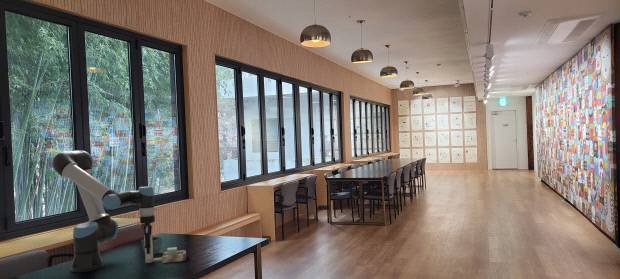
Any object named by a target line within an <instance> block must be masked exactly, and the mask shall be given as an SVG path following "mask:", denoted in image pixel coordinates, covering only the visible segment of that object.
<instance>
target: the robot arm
mask: <svg viewBox="0 0 620 279" xmlns="http://www.w3.org/2000/svg"><path fill="white" fill-rule="evenodd" d="M51 162H52V167H53V170H54V171H55V172H56V173H57V174H58V175H59V176H61V177H62V178H64V179H69V180H70V181H72V182H73V183H74V184H76V186H77V190H78V192H79V194H80V198H81V200H82V203H83V206H84V207H85V210H86V214H87V216H88V221H87V222H81V223H78V224H77V225H75V226H74V227H73V233H72V237H73V238H72V239H73V253H74V254H73V259H72V262H71V265H70V271H71V272H72V273H87V272H88V273H89V272H92V271H97V270H99V269H102V268H103V267H104V262H103V261H104V260H103V258H102V257H101V253H100V250H99V248H100V247H99V245H101V244H104V243H108V242H110V241H112V240H114V239H115V238H116V237H117V235H118V233H119V229H120V228H119V224H118V222H117V221H116V220H114V219H112V218H111V216H110V214H109V213H106V211H105V209H106V210H115V209H119V208H123V207H127V206H132V205H139V210H138V211H139V223H140V224H144V226H143V232H144V233H143V234H144V236H145V247H144V248H146V260H151V259H152V257H151V243H150V235H152V232H153V231H152V230H153V229H152V228H153V225H152V223H155V222H156V219H155V218H156V215H155V211H156V208H155V200H154V198H155V193H154V188H153V186H139V187H138V190H122V191H120V192H116V191H115V190H113V189H112V188H111V187H109V186H107V185H105V184H104V183H102V182H101V181H100V180H98V179H97V178H96V177H94V176H92V172H93V165H94V159H93V156H92V155H91V154H90V153H89V152H88V151H85V150H79V149H78V150H68V151H67V150H66V151H65V150H64V151H60V152H58V153H57V154H56V155H55V156H54V157H53V159H52V161H51ZM152 244H153V243H152Z"/></svg>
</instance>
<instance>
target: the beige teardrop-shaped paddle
mask: <svg viewBox="0 0 620 279" xmlns="http://www.w3.org/2000/svg"><path fill="white" fill-rule="evenodd" d="M152 237H153V234H151V235H150V243H151V257H152V259H151V260H146V248H145V252H144V257H145V259H144V260H145V263H146V264H151V263H153V262H155V261H162V257H155V258H154V255H153V244H152ZM143 238H144V241H145V235H144V236H143ZM177 251H178V247H177V246H173V247H167V250H166V252H167V255H177Z"/></svg>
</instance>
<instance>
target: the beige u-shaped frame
mask: <svg viewBox="0 0 620 279" xmlns="http://www.w3.org/2000/svg"><path fill="white" fill-rule="evenodd" d="M162 254H163V255H162V256H161V258H162V260H161V262H162V264H167V263H168V264H169V263H175V262H185V261H187V250H186V249H183V250H177V255H167V251H165V252H162Z"/></svg>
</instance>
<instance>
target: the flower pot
mask: <svg viewBox="0 0 620 279" xmlns="http://www.w3.org/2000/svg"><path fill="white" fill-rule="evenodd" d="M140 242H141V247H142V250H143V252H144V253H145V248H144V247H145V241H144V239H140ZM152 243H153V256H154V255H157V254H159V253H160V251H161V248H162V245H163V244H162V243H163V236H152Z"/></svg>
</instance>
